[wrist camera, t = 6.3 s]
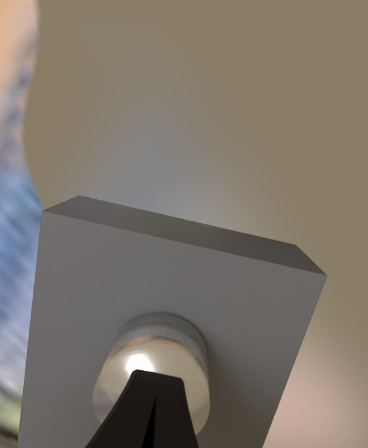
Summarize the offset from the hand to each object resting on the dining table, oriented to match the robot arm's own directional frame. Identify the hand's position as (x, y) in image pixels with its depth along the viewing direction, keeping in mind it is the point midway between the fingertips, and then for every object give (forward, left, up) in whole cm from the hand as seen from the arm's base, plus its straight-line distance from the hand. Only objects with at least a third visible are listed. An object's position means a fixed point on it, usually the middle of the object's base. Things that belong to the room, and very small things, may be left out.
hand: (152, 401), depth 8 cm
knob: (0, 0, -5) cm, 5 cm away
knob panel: (-5, 0, -5) cm, 7 cm away
